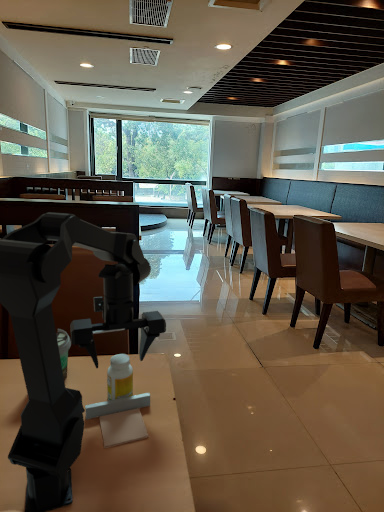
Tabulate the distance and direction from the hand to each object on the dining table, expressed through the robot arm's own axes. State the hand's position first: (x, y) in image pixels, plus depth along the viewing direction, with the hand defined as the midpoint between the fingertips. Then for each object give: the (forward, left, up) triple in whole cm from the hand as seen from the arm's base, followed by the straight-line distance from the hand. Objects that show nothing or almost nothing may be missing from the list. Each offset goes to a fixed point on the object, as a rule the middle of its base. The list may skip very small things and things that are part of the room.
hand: (119, 363), depth 72 cm
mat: (-9, +1, -8) cm, 12 cm away
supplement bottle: (0, 0, -9) cm, 9 cm away
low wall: (-4, +1, -8) cm, 9 cm away
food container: (+11, +13, -9) cm, 19 cm away
